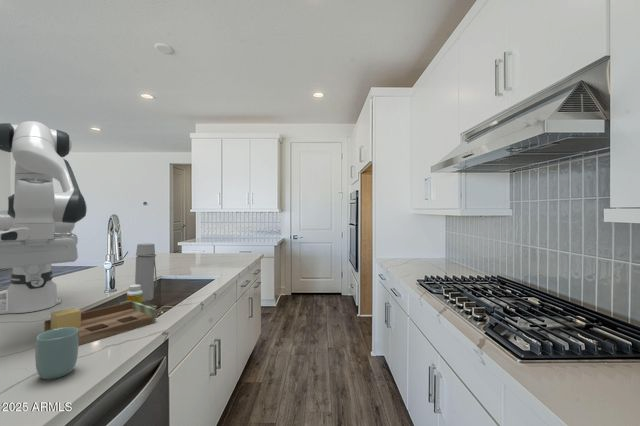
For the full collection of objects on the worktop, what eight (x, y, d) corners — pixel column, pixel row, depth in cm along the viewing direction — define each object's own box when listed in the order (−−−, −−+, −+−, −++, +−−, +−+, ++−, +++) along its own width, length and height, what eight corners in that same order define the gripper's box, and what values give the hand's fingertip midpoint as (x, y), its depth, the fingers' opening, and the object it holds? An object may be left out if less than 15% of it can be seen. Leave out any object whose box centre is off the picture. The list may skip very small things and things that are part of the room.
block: (50, 328, 93) (50, 312, 93) (74, 323, 98) (74, 307, 98) (56, 332, 90) (57, 315, 90) (80, 326, 95) (81, 310, 95)
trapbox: (44, 336, 93) (44, 319, 93) (132, 314, 115) (133, 299, 115) (64, 349, 84) (64, 330, 84) (155, 322, 106) (155, 307, 107)
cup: (34, 374, 72) (35, 332, 72) (75, 363, 77) (77, 324, 77) (34, 388, 66) (36, 342, 66) (79, 375, 72) (80, 333, 72)
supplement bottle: (134, 312, 117) (135, 287, 117) (122, 311, 118) (123, 286, 118) (145, 308, 122) (145, 284, 122) (134, 307, 123) (134, 283, 123)
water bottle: (141, 303, 128) (143, 245, 128) (130, 300, 131) (132, 244, 131) (161, 298, 136) (162, 243, 136) (150, 296, 139) (152, 242, 140)
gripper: (73, 231, 98) (72, 274, 97) (-20, 234, 80) (-22, 286, 80) (81, 232, 94) (81, 276, 94) (-14, 235, 77) (-16, 289, 77)
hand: (33, 281), depth 87 cm, fingers closed
